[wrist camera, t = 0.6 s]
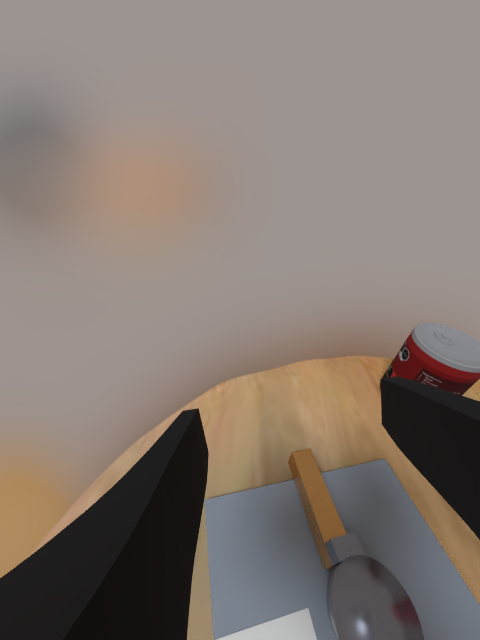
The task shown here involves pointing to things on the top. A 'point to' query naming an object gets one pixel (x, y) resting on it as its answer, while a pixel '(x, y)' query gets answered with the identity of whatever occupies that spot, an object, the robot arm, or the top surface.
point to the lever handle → (351, 569)
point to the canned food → (438, 358)
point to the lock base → (305, 564)
